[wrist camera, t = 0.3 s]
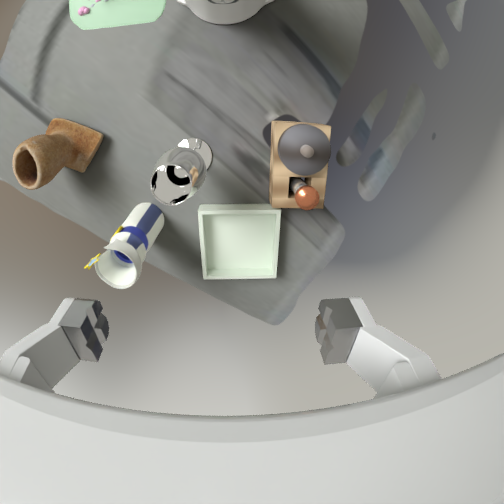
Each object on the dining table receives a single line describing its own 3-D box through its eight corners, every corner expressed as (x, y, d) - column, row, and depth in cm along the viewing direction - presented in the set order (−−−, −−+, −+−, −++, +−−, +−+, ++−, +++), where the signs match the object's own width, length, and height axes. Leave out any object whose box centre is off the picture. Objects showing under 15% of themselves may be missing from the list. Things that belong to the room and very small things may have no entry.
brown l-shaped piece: (42, 160, 47) (1, 180, 34) (55, 112, 42) (12, 120, 29) (90, 183, 51) (54, 210, 38) (108, 133, 46) (70, 145, 33)
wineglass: (192, 128, 48) (168, 142, 30) (221, 156, 51) (214, 184, 34) (165, 157, 50) (130, 186, 33) (193, 183, 53) (173, 225, 36)
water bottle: (121, 221, 56) (70, 291, 34) (142, 193, 53) (90, 255, 32) (149, 244, 59) (112, 322, 38) (172, 218, 57) (138, 291, 35)
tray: (199, 204, 55) (197, 210, 52) (278, 203, 56) (281, 209, 53) (204, 270, 63) (203, 279, 60) (274, 269, 64) (276, 278, 61)
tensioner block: (271, 120, 48) (279, 123, 40) (322, 124, 48) (338, 128, 41) (268, 199, 56) (274, 216, 48) (316, 199, 56) (329, 216, 49)
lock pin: (285, 170, 53) (297, 186, 43) (304, 171, 53) (320, 187, 44) (283, 189, 55) (295, 210, 45) (303, 190, 55) (318, 210, 46)
